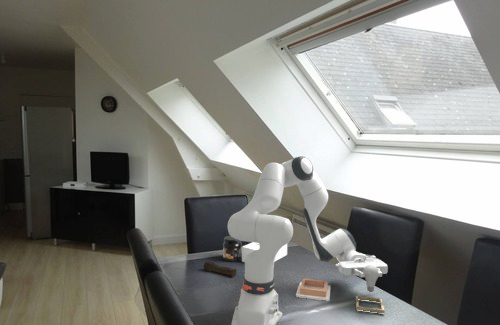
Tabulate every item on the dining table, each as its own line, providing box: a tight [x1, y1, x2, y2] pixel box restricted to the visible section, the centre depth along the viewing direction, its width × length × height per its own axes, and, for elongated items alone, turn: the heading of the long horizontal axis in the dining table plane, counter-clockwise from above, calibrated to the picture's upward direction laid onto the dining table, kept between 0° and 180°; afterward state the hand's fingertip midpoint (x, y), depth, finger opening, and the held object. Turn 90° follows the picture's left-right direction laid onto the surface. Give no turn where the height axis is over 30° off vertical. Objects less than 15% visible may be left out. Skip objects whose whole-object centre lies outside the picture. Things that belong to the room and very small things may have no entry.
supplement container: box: [222, 235, 243, 262], centre depth 197 cm, size 10×10×12 cm
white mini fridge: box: [241, 242, 288, 263], centre depth 199 cm, size 14×25×11 cm, turn 145°
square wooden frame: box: [355, 295, 386, 314], centre depth 143 cm, size 10×10×2 cm
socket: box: [295, 278, 332, 302], centre depth 156 cm, size 14×14×4 cm
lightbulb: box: [363, 265, 379, 293], centre depth 142 cm, size 6×6×11 cm
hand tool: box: [203, 260, 237, 278], centre depth 177 cm, size 19×4×5 cm, turn 58°
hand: (371, 275), depth 141 cm, fingers closed on lightbulb, 6 cm apart
